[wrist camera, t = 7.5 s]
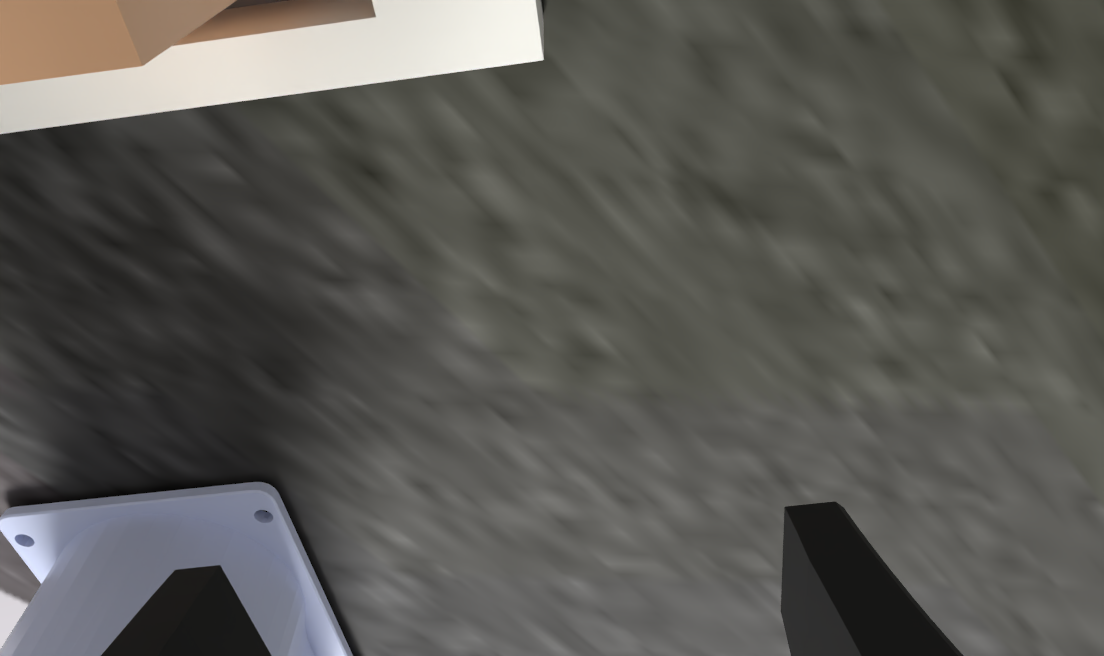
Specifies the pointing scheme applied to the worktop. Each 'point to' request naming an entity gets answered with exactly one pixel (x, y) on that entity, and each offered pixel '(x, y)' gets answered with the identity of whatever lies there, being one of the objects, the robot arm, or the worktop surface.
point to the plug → (92, 34)
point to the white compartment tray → (289, 56)
